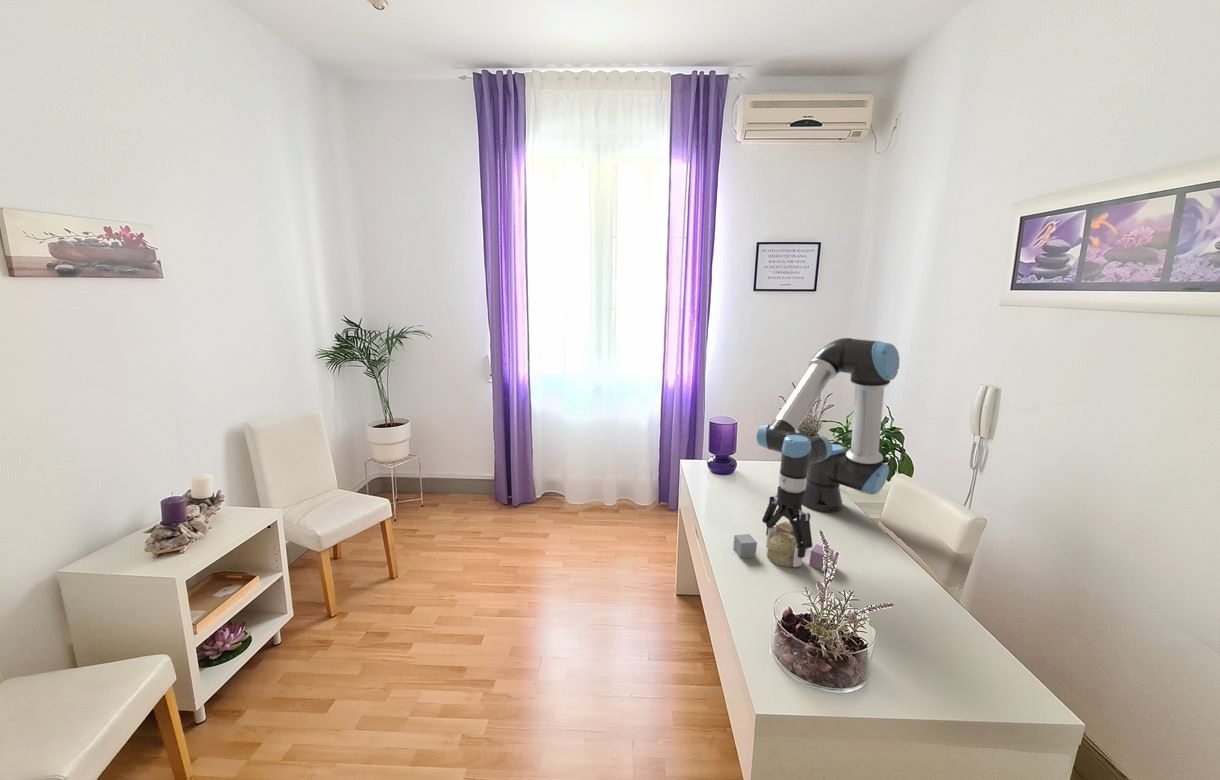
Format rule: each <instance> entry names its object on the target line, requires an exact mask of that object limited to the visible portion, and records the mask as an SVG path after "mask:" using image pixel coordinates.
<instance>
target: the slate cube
mask: <svg viewBox="0 0 1220 780" xmlns="http://www.w3.org/2000/svg"><path fill="white" fill-rule="evenodd" d="M733 537H734V538H733V545H732V546H733V548H732V549H733V551H734V552H735V554H736V553H737V554H736V555H737V556H738V558H739V559H746V558H749V557H750V558H756V555H757V545H758V541H757V540H755V539H754V538H753V536H752V535H751V533H750V534H749V533H747V534H744V533H743V534H734V536H733Z"/></svg>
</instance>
